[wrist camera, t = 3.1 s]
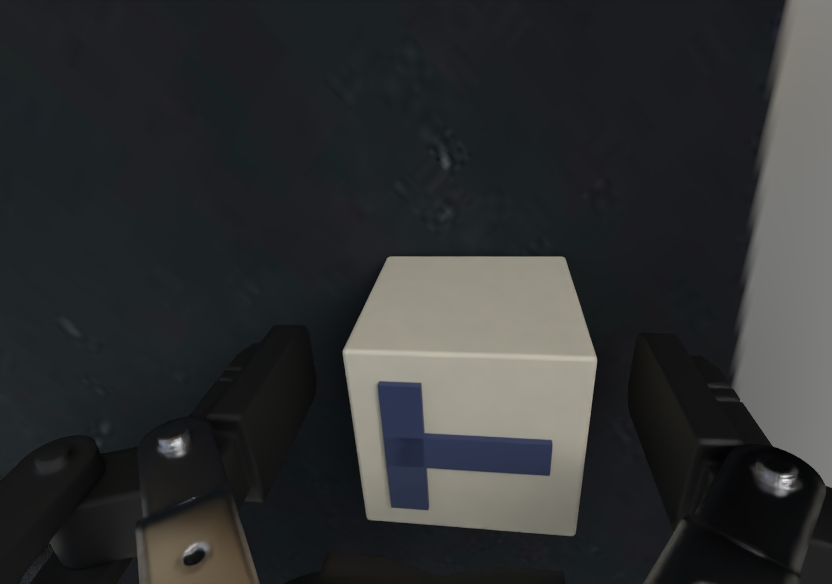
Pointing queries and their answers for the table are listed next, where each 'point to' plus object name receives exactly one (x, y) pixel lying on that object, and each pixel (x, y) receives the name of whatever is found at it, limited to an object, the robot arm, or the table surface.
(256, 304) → the table surface
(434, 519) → the letter t cube
